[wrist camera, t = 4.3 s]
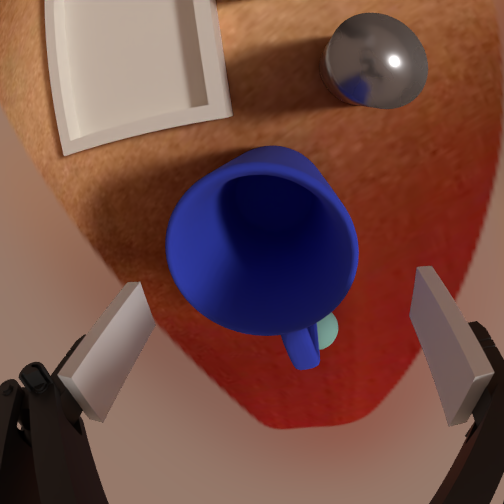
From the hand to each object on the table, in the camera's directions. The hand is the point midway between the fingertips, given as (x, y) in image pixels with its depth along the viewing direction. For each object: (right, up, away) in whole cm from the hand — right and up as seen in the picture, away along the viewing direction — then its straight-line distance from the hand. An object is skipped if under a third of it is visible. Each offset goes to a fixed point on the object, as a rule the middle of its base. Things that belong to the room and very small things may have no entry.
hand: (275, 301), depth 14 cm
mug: (+1, +5, +8) cm, 10 cm away
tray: (-10, +18, +3) cm, 21 cm away
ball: (+4, -3, +12) cm, 13 cm away
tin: (+6, +14, +3) cm, 15 cm away
